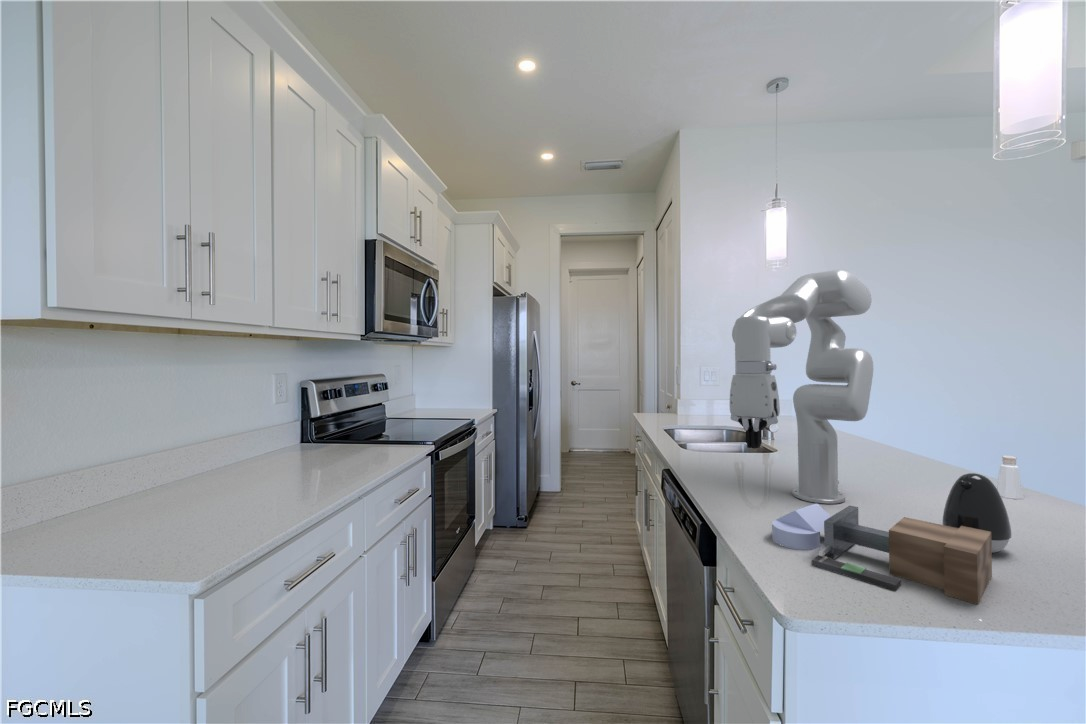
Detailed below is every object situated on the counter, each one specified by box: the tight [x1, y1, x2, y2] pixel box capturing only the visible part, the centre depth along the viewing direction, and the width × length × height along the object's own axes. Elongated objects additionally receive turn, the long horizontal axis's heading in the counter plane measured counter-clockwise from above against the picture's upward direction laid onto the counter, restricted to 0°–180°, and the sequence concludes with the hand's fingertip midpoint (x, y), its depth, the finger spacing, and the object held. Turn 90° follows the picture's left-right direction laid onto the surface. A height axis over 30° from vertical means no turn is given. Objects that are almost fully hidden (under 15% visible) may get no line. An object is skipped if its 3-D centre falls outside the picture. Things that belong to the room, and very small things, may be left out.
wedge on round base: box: [771, 503, 831, 551], centre depth 99 cm, size 9×7×13 cm
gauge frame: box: [811, 517, 993, 605], centre depth 84 cm, size 18×22×8 cm
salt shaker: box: [996, 455, 1024, 500], centre depth 125 cm, size 5×5×11 cm
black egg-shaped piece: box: [941, 472, 1013, 554], centre depth 93 cm, size 10×10×15 cm
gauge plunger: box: [818, 504, 889, 560], centre depth 88 cm, size 18×10×7 cm, turn 129°
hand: (753, 447), depth 107 cm, fingers closed
